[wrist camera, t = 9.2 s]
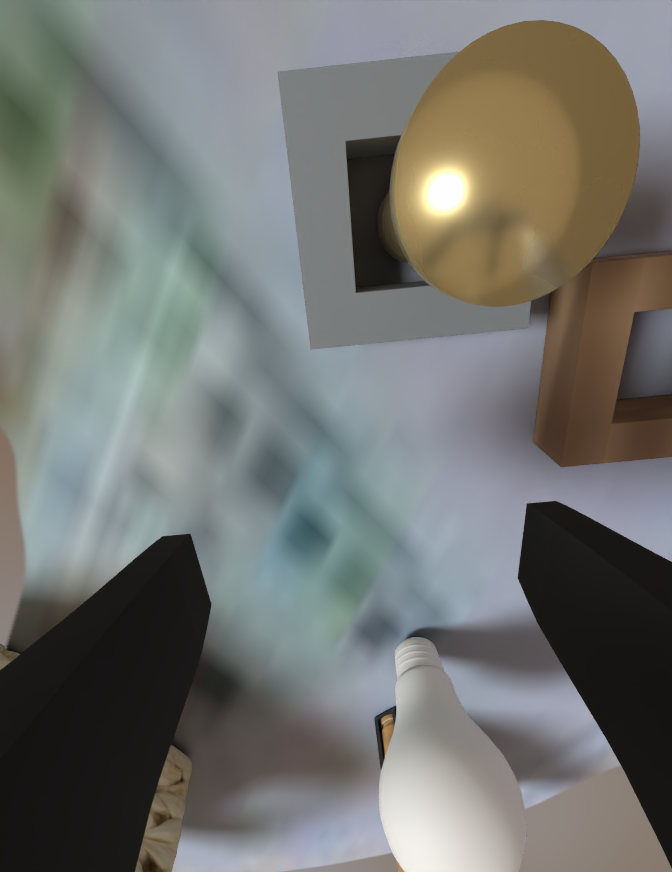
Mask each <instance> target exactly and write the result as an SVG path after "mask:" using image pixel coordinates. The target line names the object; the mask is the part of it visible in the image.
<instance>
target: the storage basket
mask: <svg viewBox="0 0 672 872" xmlns="http://www.w3.org/2000/svg"><path fill="white" fill-rule="evenodd" d="M19 655H20V654H19V653H16V652H13V651H8V650H6V649H5V647H4V646H3V645H1V644H0V670H1V669H2V668H3V667H5V666H6V665H7V664H9V663H10V662H11V661H13V660H14V659H15V658H16V657H18V656H19ZM191 772H192V762H191V760H190V759H189V758H188V756H186V755H185V754H184V753H182V752H181V751H180V750H178V749H177V748H175V747H174V746H172V745H171V746H170V749H169V752H168V755H167V758H166V761H165V764H164V767H163V770H162V773H161V776H160V779H159V783H158V786H157V789H156V793H155V796H154V799H153V803H152V806H151V809H150V813H149V817H148V821H147V825H146V829H145V833H144V837H143V841H142V845H141V849H140V853H139V857H138V862H137V866H136V870H135V872H171V871H172V868H173V864H174V861H175V858H176V854H177V848H178V844H179V840H180V837H181V831H182V818H183V816H184V813H185V808H186V796H187V792H188V786H189V780H190V777H191Z"/></svg>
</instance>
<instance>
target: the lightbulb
mask: <svg viewBox="0 0 672 872" xmlns="http://www.w3.org/2000/svg"><path fill="white" fill-rule="evenodd" d="M395 662H396V669H397V678H398V680H397V682H396V686H395V694H396V720H395V726H394V731H393V735H392V738H391V741H390V743H389V746H388V749H387V752H386V755H385V759H384V762H383V766H382V769H381V773H380V784H379V808H380V816H381V820H382V824H383V828H384V831H385V834H386V837H387V840H388V842H389V845H390V847H391V850H392V853H393V855H394V856H395V858H396V859H397V861H398V863H399V864H400V866H401V868H402V869H403V870H404V872H518V871H519V869H520V865H521V862H522V858H523V855H524V852H525V844H526V836H527V834H526V833H527V832H526V817H525V808H524V803H523V798H522V793H521V790H520V788H519V785H518V782H517V780H516V777H515V775H514V773H513V771H512V769H511V767H510V766H509V764H508V762H507V760H506V759H505V757H504V755H503V754H502V753H501V751H500V750H499V749H498V748H497V747H496V745H495V744H494V743H493V742H492V741H491V740H490V738H489V737H488V736H487V735H486V734H485V733H484V732H483V731H482V730H481V729H480V727H479V726H478V725H477V724H476V723H475V722H474V721H473V720H472V719H471V718H470V716H469V715H468V713H467V712H466V711H465V709H464V708H463V706H462V705H461V703H460V701H459V699H458V697H457V695H456V693H455V690H454V687H453V684H452V682H451V679H450V678H449V676H448V675H447V674H446V672H444V669H443V667H442V663H441V661H440V658H439V655H438V653H437V650H436V647H435V645H434V644H433V643H432V642H431V641H429V640H428V639H425V638H422V637H411V638H409V639H406V640H404V641H402V642H401V643H400V644H399V645H398V647H397V648H396V651H395Z"/></svg>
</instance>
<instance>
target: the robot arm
mask: <svg viewBox="0 0 672 872" xmlns="http://www.w3.org/2000/svg"><path fill="white" fill-rule="evenodd" d="M518 579H519V582H520V584H521V586H522V589H523V591H524V594H525V596H526V598H527V601H528V603H529V605H530V607H531V609H532V612H533V614H534V616H535V618H536V620H537V623H538V624H539V626H540V628H541V630H542V631H543V633H544V635H545V637H546V638H547V640H548V642H549V643H550V645H551V647H552V649H553V650H554V652H555V654H556V655H557V657H558V659H559V660H560V662H561V664H562V665H563V667H564V669H565V671H566V672H567V674H568V676H569V677H570V679H571V681H572V682H573V684H574V686H575V687H576V689H577V691H578V692H579V694H580V696H581V697H582V699H583V701H584V702H585V704H586V706H587V707H588V709H589V711H590V712H591V714H592V716H593V717H594V719H595V721H596V722H597V724H598V726H599V727H600V729H601V731H602V732H603V734H604V736H605V737H606V739H607V741H608V743H609V744H610V746H611V748H612V750H613V752H614V753H615V755H616V757H617V759H618V761H619V762H620V764H621V766H622V768H623V770H624V771H625V773H626V775H627V777H628V779H629V781H630V783H631V785H632V788H633V790H634V792H635V794H636V795H637V798H638V800H639V802H640V803H641V806H642V808H643V810H644V812H645V814H646V816H647V818H648V820H649V822H650V824H651V826H652V828H653V830H654V832H655V834H656V836H657V838H658V840H659V842H660V844H661V846H662V848H663V850H664V852H665V854H666V857H667V859H668V861H669V863H670V865H671V868H672V562H671V561H669V560H667V559H665V558H663V557H661V556H659V555H657V554H655V553H654V552H652V551H650V550H648V549H646V548H644V547H642V546H641V545H639V544H637V543H635V542H633V541H631V540H629V539H628V538H626V537H624V536H622V535H620V534H618V533H617V532H615V531H613V530H611V529H609V528H607V527H606V526H604V525H602V524H600V523H598V522H596V521H594V520H593V519H591V518H589V517H587V516H585V515H583V514H581V513H579V512H578V511H576V510H574V509H572V508H570V507H568V506H566V505H563V504H561V503H559V502H557V501H551V502H540V503H529V504H527V507H526V516H525V524H524V532H523V540H522V548H521V556H520V564H519V573H518ZM210 609H211V601H210V598H209V595H208V591H207V588H206V585H205V581H204V578H203V574H202V571H201V568H200V564H199V561H198V558H197V554H196V551H195V547H194V544H193V541H192V537H191V534H184V535H173V536H162V537H161V538H160V539H159V540H157V541H156V542H155V543H153V544H152V545H151V546H150V547H148V548H147V549H146V550H145V551H144V552H142V553H141V554H140V555H139V556H138V557H137V558H135V559H134V560H133V561H132V562H131V563H130V564H128V565H127V566H126V567H125V568H124V569H123V570H122V571H120V572H119V573H118V574H117V575H116V576H115V577H113V578H112V579H111V580H110V581H109V582H108V583H106V584H105V585H104V586H103V587H102V588H101V589H99V590H98V591H97V592H96V593H95V594H94V595H92V596H91V597H90V598H89V599H88V600H87V601H85V602H84V603H83V604H82V605H81V606H80V607H78V608H77V609H76V610H75V611H74V612H72V613H71V614H70V615H69V616H68V617H66V618H65V619H64V620H63V621H61V622H60V623H59V624H58V625H56V626H55V627H54V628H53V629H51V630H50V631H49V632H48V633H46V634H45V635H44V636H43V637H41V638H40V639H39V640H38V641H36V642H35V643H34V644H33V645H31V646H30V647H29V648H28V649H26V650H25V651H24V652H23V653H21V654H20V655H19V656H18V657H16V658H15V659H14V660H13V661H11V662H10V663H9V664H7V665H6V666H5V667H3V668H2V669H1V670H0V872H135V870H136V866H137V862H138V857H139V853H140V849H141V845H142V841H143V837H144V833H145V829H146V825H147V821H148V817H149V813H150V809H151V806H152V803H153V799H154V796H155V793H156V789H157V786H158V783H159V779H160V776H161V773H162V770H163V767H164V764H165V761H166V758H167V755H168V752H169V749H170V746H171V743H172V740H173V737H174V734H175V731H176V728H177V725H178V722H179V719H180V716H181V713H182V711H183V708H184V705H185V702H186V699H187V696H188V693H189V690H190V687H191V684H192V681H193V677H194V674H195V671H196V668H197V665H198V662H199V659H200V656H201V653H202V648H203V644H204V639H205V635H206V630H207V625H208V620H209V615H210Z"/></svg>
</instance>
